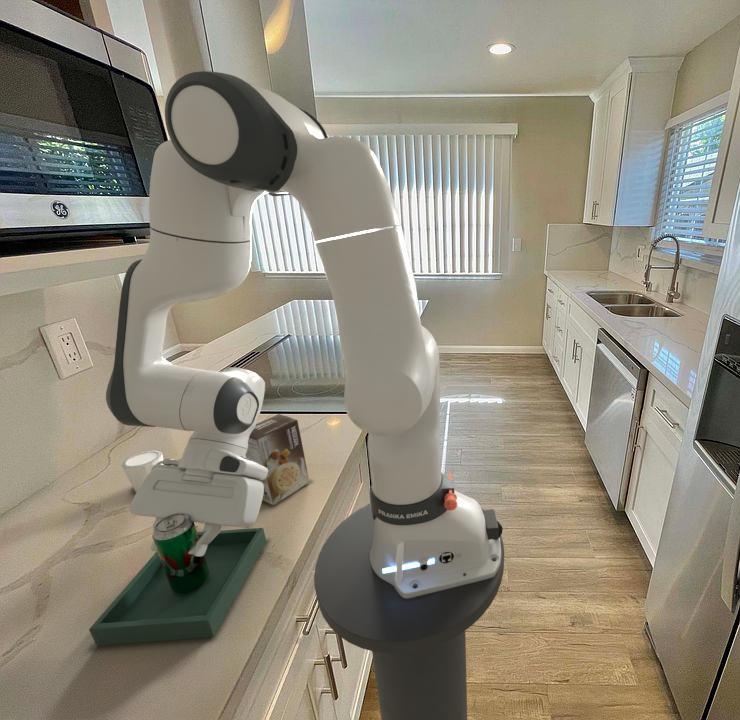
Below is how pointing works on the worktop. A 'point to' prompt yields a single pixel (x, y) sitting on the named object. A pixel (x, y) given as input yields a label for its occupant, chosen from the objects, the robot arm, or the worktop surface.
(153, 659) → the worktop surface
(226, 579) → the tray
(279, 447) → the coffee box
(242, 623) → the worktop surface
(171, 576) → the soda can
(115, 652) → the worktop surface
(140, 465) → the white cup
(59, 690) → the worktop surface
